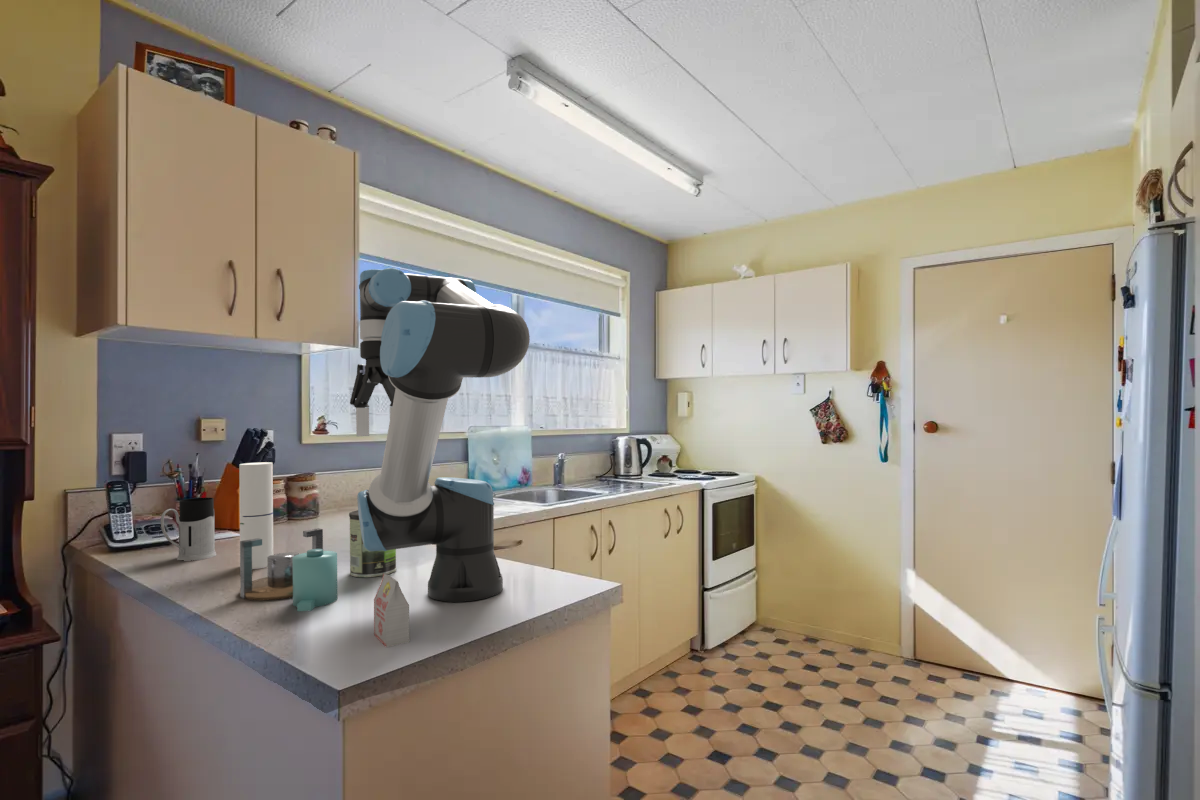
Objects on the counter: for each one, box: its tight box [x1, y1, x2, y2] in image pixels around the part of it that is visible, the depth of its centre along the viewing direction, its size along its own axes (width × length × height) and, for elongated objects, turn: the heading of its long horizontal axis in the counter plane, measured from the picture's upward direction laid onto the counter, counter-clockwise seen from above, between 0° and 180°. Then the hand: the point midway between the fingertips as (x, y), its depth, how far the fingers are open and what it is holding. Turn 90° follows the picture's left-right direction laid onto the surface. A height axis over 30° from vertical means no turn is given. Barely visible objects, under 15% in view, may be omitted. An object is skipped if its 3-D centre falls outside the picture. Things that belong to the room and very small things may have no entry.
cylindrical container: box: [238, 461, 274, 570], centre depth 151 cm, size 7×7×25 cm
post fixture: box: [239, 527, 324, 602], centre depth 130 cm, size 16×16×11 cm
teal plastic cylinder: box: [292, 548, 338, 612], centre depth 121 cm, size 8×12×10 cm, turn 6°
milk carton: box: [373, 573, 411, 648], centre depth 101 cm, size 4×7×10 cm, turn 36°
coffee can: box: [348, 509, 397, 578], centre depth 143 cm, size 10×10×14 cm
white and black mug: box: [160, 497, 217, 562], centre depth 158 cm, size 9×14×15 cm, turn 166°
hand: (379, 436), depth 136 cm, fingers open, 13 cm apart
